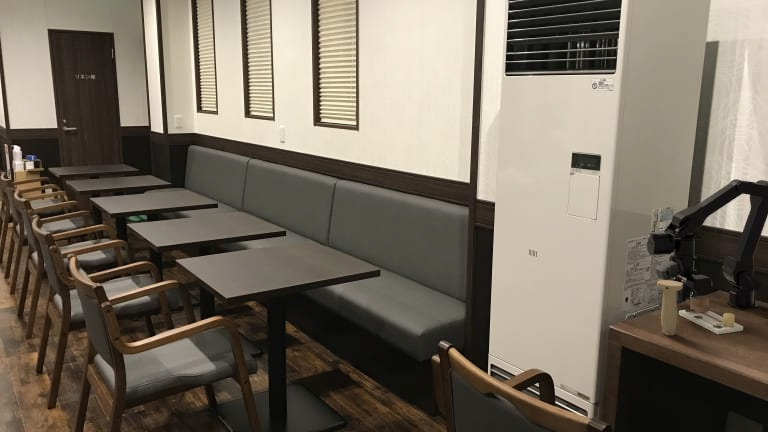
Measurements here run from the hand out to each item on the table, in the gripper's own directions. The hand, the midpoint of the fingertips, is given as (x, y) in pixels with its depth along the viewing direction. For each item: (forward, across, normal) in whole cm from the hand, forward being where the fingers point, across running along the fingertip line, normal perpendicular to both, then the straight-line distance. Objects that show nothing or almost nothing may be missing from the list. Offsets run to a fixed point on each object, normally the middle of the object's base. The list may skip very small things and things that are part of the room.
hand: (682, 301), depth 189 cm
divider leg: (+1, +6, 0) cm, 7 cm away
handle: (+2, +16, -16) cm, 23 cm away
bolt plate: (+2, +12, 0) cm, 12 cm away
